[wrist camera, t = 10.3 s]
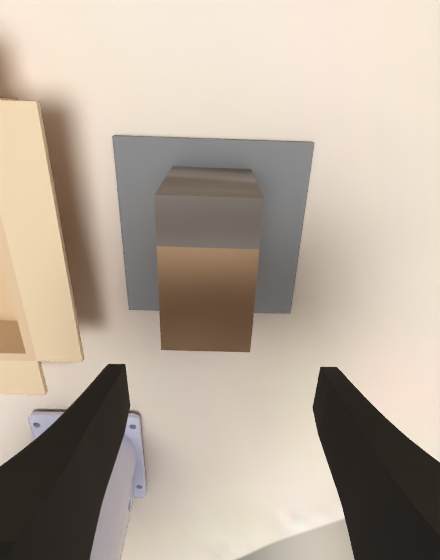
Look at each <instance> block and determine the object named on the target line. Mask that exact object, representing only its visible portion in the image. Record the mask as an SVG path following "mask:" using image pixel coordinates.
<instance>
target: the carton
mask: <svg viewBox="0 0 440 560" xmlns="http://www.w3.org/2000/svg"><path fill="white" fill-rule="evenodd" d="M83 360H84V354H83V348H82V343H81V337H80V331H79V325H78V320H77V314H76V308H75V302H74V297H73V291H72V285H71V279H70V274H69V268H68V262H67V256H66V251H65V245H64V239H63V233H62V228H61V222H60V216H59V210H58V205H57V199H56V193H55V187H54V182H53V176H52V170H51V164H50V159H49V153H48V147H47V141H46V136H45V130H44V124H43V118H42V113H41V107H40V101H18V100H17V99H11V98H0V394H28V395H46V393H47V386H46V382H45V378H44V374H43V370H42V366H41V362H40V361H53V362H83Z"/></svg>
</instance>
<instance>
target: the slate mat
mask: <svg viewBox="0 0 440 560" xmlns="http://www.w3.org/2000/svg"><path fill="white" fill-rule="evenodd" d="M112 138H113V148H114V159H115V169H116V180H117V190H118V200H119V211H120V221H121V232H122V242H123V253H124V263H125V273H126V284H127V294H128V305H129V310H160V309H159V288H158V266H157V245H156V223H155V202H154V194H155V193H156V191H157V190H158V188H159V187H160V185H161V183H162V182H163V180H164V179H165V177H166V176H167V174H168V172H169V171H170V169H171V168H172V166H179V167H207V168H235V169H251V171H252V173H253V175H254V178H255V180H256V182H257V184H258V186H259V189H260V191H261V193H262V195H263V197H264V205H263V216H262V227H261V238H260V249H259V260H258V271H257V281H256V292H255V303H254V313H289V314H290V312H291V305H292V298H293V291H294V283H295V276H296V269H297V262H298V255H299V248H300V241H301V234H302V227H303V220H304V213H305V206H306V199H307V192H308V184H309V177H310V170H311V163H312V156H313V149H314V143H313V142H297V141H267V140H237V139H208V138H178V137H148V136H119V135H114V136H112Z"/></svg>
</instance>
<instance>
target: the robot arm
mask: <svg viewBox="0 0 440 560" xmlns="http://www.w3.org/2000/svg"><path fill="white" fill-rule="evenodd" d="M129 409H130V400H129V392H128V383H127V375H126V366H125V364H108V365H107V366H106V367H105V368H104V369H103V370H102V372H101V373H100V374H99V375H98V376H97V377H96V379H95V380H94V381H93V382H92V383H91V384H90V385H89V387H88V388H87V389H86V390H85V391H84V392H83V393H82V394H81V395H80V396H79V398H78V399H77V400H76V401H75V402H74V403H73V404H72V405H71V406H70V407H69V408H68V409H67V410H66V411H65V412H41V411H36V412H32V413H31V415H30V416H29V422H30V425H31V429H32V432H33V436H34V439H35V440H34V441H33V442H31V443H30V444H29V445H28V446H27V447H25V448H24V449H23V450H22V451H20V452H19V453H18V454H16V455H15V456H14V457H12V458H11V459H10V460H8V461H7V462H6V463H4V464H3V465H2V466H0V560H121V556H122V551H123V546H124V541H125V536H126V532H127V527H128V522H129V517H130V512H131V508H132V503H133V498H142V497H144V496H146V492H147V488H146V477H145V467H144V456H143V445H142V435H141V424H140V417H139V416H138V415H137V414H135V413H129ZM313 412H314V417H315V422H316V426H317V431H318V435H319V438H320V441H321V444H322V447H323V450H324V453H325V456H326V459H327V462H328V465H329V468H330V471H331V474H332V477H333V480H334V483H335V485H336V488H337V491H338V494H339V498H340V501H341V504H342V508H343V512H344V516H345V520H346V524H347V528H348V532H349V536H350V541H351V546H352V550H353V555H354V559H355V560H440V462H438V461H437V460H436V459H434V458H433V457H432V456H430V455H429V454H428V453H426V452H425V451H424V450H423V449H421V448H420V447H419V446H418V445H416V444H415V443H414V442H413V441H411V440H410V439H409V438H408V437H406V436H405V435H404V434H403V433H402V432H401V431H400V430H398V429H397V428H396V427H395V426H394V425H393V424H392V423H391V422H390V421H389V420H387V419H386V418H385V417H384V416H383V415H382V414H381V413H380V412H379V411H378V410H377V409H376V408H375V407H374V406H373V405H372V404H371V403H370V402H369V401H368V400H367V399H366V398H365V397H364V396H363V395H362V394H361V393H360V391H359V390H358V389H357V388H356V387H355V386H354V385H353V384H352V383H351V382H350V381H349V380H348V379H347V377H346V376H345V375H344V374H343V373H342V372H341V371H340V370H339V369H338V368H337V367H320V372H319V377H318V383H317V388H316V393H315V398H314V404H313ZM132 424H134V425H132Z"/></svg>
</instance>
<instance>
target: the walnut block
mask: <svg viewBox="0 0 440 560" xmlns="http://www.w3.org/2000/svg"><path fill="white" fill-rule="evenodd" d="M154 202H155V223H156V245H157V266H158V288H159V309H160V331H161V350H185V351H225V352H250V347H251V336H252V325H253V314H254V303H255V292H256V281H257V271H258V260H259V249H260V238H261V227H262V216H263V205H264V197H263V195H262V193H261V191H260V189H259V186H258V184H257V182H256V180H255V178H254V175H253V173H252V171H251V169H235V168H207V167H179V166H172V168H171V169H170V171H169V172H168V174H167V176H166V177H165V179H164V180H163V182H162V183H161V185H160V187H159V188H158V190H157V191H156V193H155V194H154Z"/></svg>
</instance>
